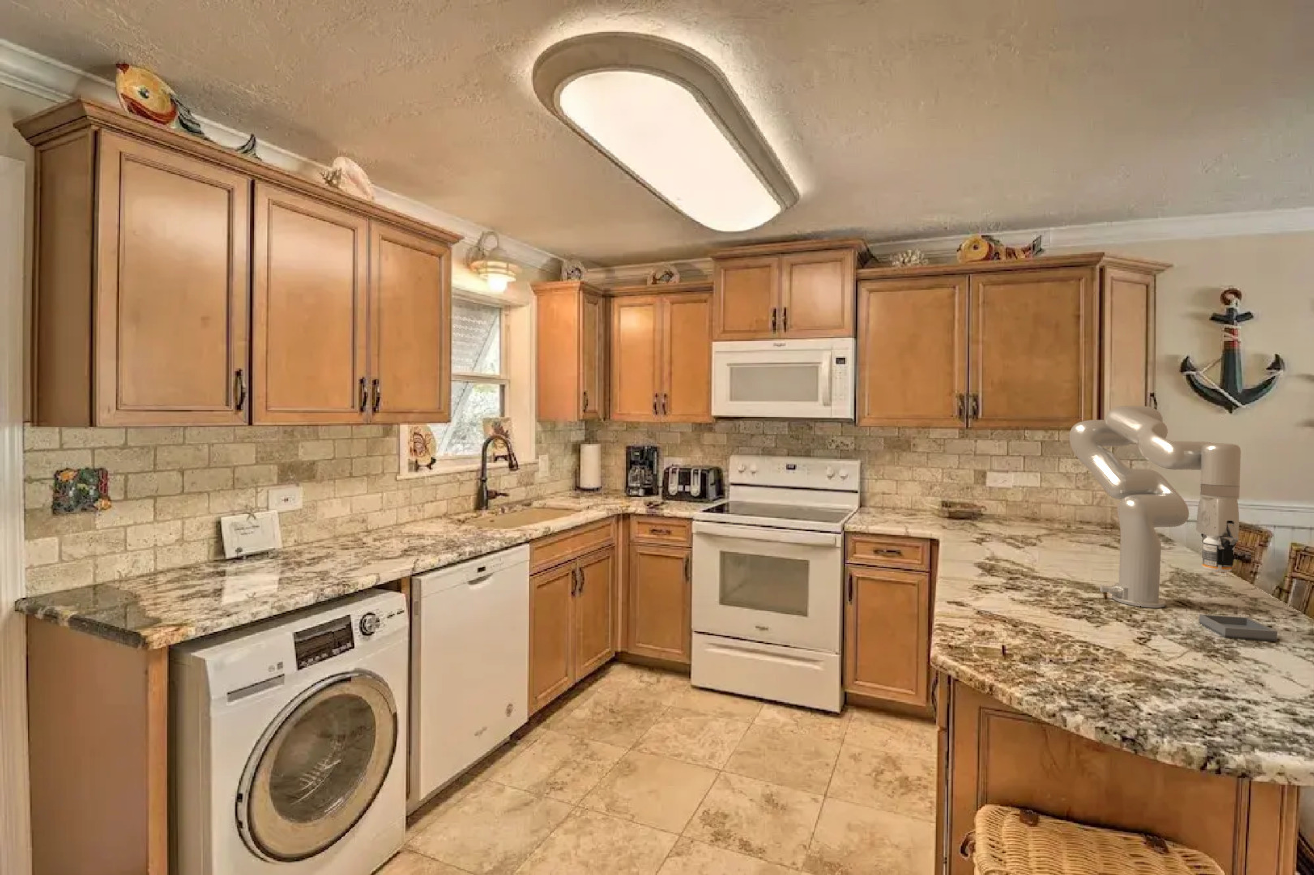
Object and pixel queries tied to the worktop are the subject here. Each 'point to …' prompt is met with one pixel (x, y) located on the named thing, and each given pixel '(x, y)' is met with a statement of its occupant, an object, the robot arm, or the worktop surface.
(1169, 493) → the robot arm
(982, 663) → the worktop surface
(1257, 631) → the tray
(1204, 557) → the pill bottle
